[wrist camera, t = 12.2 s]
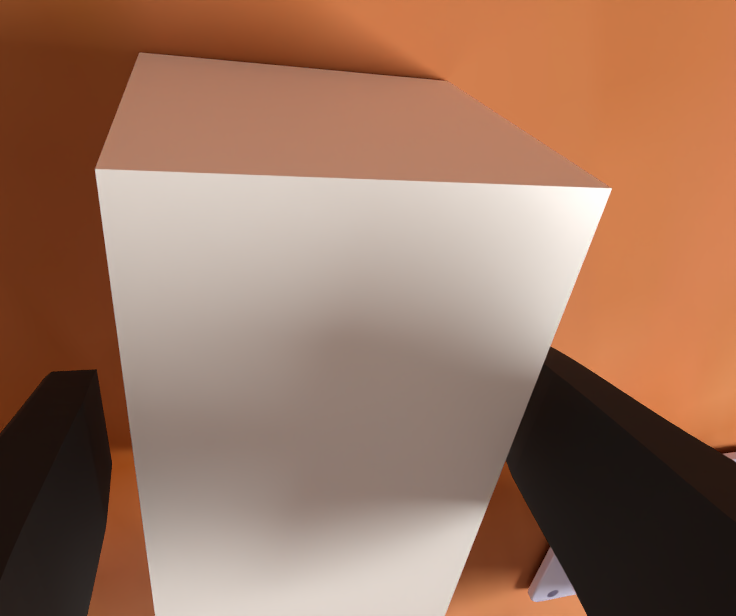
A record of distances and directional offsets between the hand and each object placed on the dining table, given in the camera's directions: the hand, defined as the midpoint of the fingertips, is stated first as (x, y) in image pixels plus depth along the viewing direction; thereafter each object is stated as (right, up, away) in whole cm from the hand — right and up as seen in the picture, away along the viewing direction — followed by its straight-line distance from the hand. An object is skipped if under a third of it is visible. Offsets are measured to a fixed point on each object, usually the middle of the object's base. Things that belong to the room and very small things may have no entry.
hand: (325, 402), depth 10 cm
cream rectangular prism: (-1, +2, +3) cm, 4 cm away
